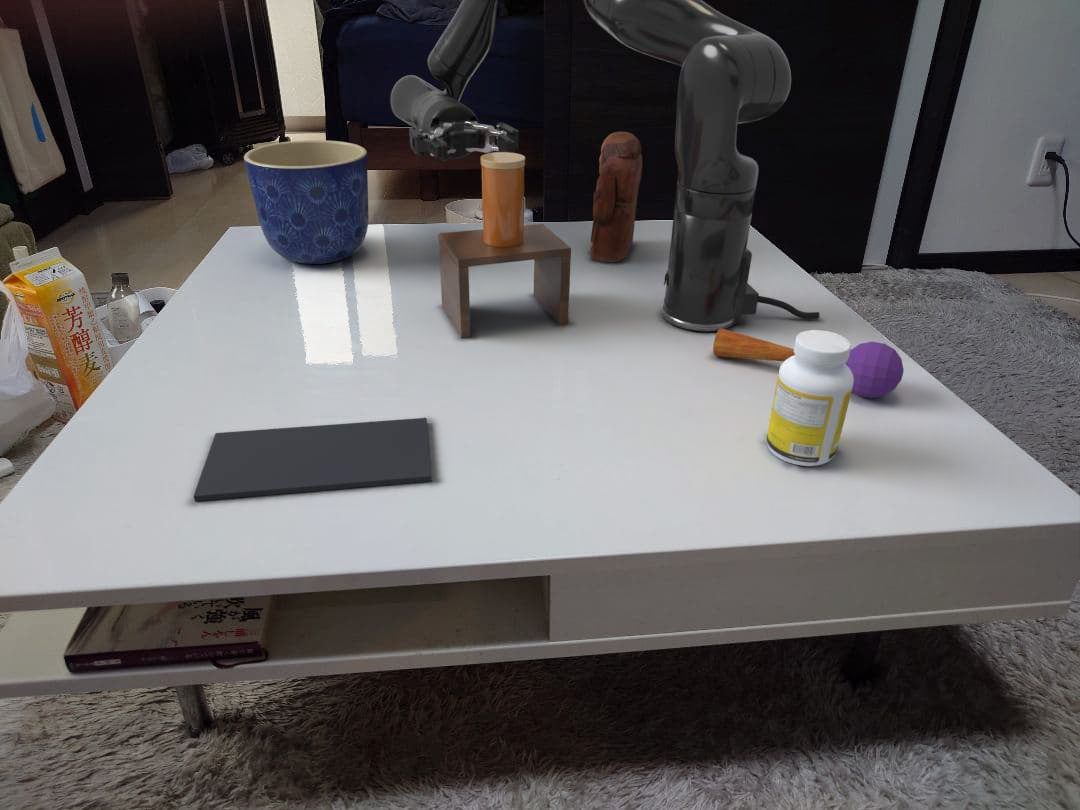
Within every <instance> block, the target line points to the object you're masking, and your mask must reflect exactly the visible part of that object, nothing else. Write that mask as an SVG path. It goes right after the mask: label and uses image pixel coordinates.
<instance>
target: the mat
mask: <svg viewBox="0 0 1080 810" xmlns="http://www.w3.org/2000/svg"><path fill="white" fill-rule="evenodd" d="M428 429H429V428H428V418H427V417H419V418H418V417H417V418H403V419H391V420H389V419H388V420H377V421H375V420H374V421H365V422H362V421H361V422H350V423H349V422H348V423H334V424H323V425H307V426H295V427H292V426H291V427H280V428H279V427H278V428H268V429H254V430H253V429H252V430H240V431H239V430H238V431H224V432H215V434H214V437H213V439H212V442H211V445H210V448H209V451H208V452H207V453H208V454H207V456H206V458H205V462H204V465H203V468H202V471H201V474H200V476H199V479H198V482H197V485H196V488H195V490H194V494H193V500H194V502H202V501H203V502H204V501H214V500H215V501H217V500H226V499H237V498H238V499H239V498H250V497H259V496H260V497H263V496H272V495H287V494H297V493H298V494H299V493H308V492H319V491H331V490H344V489H354V488H355V489H356V488H366V487H369V488H370V487H379V486H391V485H403V484H413V483H425V482H432V481H433V477H432V466H431V454H430V453H431V452H430V444H429V442H430V441H429V430H428Z"/></svg>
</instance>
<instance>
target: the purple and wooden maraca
mask: <svg viewBox="0 0 1080 810" xmlns="http://www.w3.org/2000/svg"><path fill="white" fill-rule="evenodd" d="M712 349H713V350H712V351H713V355H714V357H723V358H735V359H748V360H762V361H775V362H784V361H785V360H786V359H788V358H790V357H791V356H794V355H795V353H794V348H791V347H788V346H784V345H781V344H777V343H774V342H771V341H770V342H769V341H768V340H763V339H760V338H757V337H753V336H750V335H747V334H743V333H739V332H736V331H732V330H729V329H727V328H726V329H722V328H720V329H719V330H718V331H716V334H715V337H714V341H713V348H712ZM845 364H846V365H847V366H848V367H849V369H850V370H851V372H852V374H853V378H854V383H853V388H852V393H854V394H856V395H857V396H859V397H865V398H869V399H875V398H880V397H884V396H886V395H888V394H890V393H891V392H893V391H895V390H896V388H897V387H898V385H899V384H900V383H901V381H902V379H903V376H904V370H905V369H904V365H903V359H902V357H901V356H900V355H899V353H898V352H897V351H896V349H895V348H893V347H892V346H890V345H888V344H886V343H884V342H878V341H868V342H867V341H866V342H862V343H859V344H857V345H856V346H853V348H851V349H850V354H849V358H848V361H847V362H846V363H845Z"/></svg>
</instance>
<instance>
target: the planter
mask: <svg viewBox="0 0 1080 810" xmlns="http://www.w3.org/2000/svg"><path fill="white" fill-rule="evenodd" d="M243 160H244V165H245V168H246V172H247V177H248V180H249V185H250V189H251V193H252V197H253V200H254V205H255V209H256V213H257V217H258V221H259V226H260V228H261V231H262V233H263V236H264V238H265V240H266V241H267V243H268V245H269V246H270V247H271V249H272V250H274V252H276V253H277V254H278V255H279V256H281V257H282V258H284V259H286V260H288V261H290V262H294V263H298V264H304V265H324V264H331V263H334V262H335V263H336V262H338V261H342V260H345V259H347V258H348V257H351V256H352V255H353V254H355V253H357V251H358V250H359V249H360V248H361V246H362V245H363V243H364V241H365V239H366V237H367V232H368V228H369V217H370V216H369V183H368V182H369V181H368V180H369V179H368V176H369V175H368V152H367V150H366V148H365V147H363V146H361V145H359V144H356V143H351V142H348V141H347V142H346V141H339V140H338V141H337V140H322V139H321V140H320V139H319V140H318V139H315V140H314V139H311V140H310V139H308V140H293V141H281V142H275V143H269V144H266V145H261V146H258V147H255V148H253V149H250V150H248V151H247V152H246V153H245V154H244V155H243Z"/></svg>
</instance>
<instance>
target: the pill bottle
mask: <svg viewBox="0 0 1080 810" xmlns="http://www.w3.org/2000/svg"><path fill="white" fill-rule="evenodd" d="M793 349H794V353H795V355H794V356H791V357H790V358H788V359H786V360H785V361H782V363H781V365H780V367H779V369H778V370H779V371H778V375H777V380H776V385H775V391H774V395H773V401H772V406H771V411H770V417H769V421H768V428H767V431H766V439H765V440H766V445H767V447H768V449H769V451H770V452H771V453H772V454H773V455H774V456H775V457H777V458H778V459H780V460H782V461H784V462H786V463H789V464H793V465H797V466H803V467H816V466H821V465H824V464H827V463H828V462H830V461H831V460H833V459H834V457H835V456H836V454H837V451H838V448H839V443H840V439H841V435H842V431H843V428H844V423H845V420H846V416H847V412H848V409H849V403H850V399H851V396H852V393H853V391H852V388H853V383H854V378H853V374H852V372H851V370H850V369H849V367H848V366H847V365H846V364H845V363H846V362H847V361H848V358H849V354H850V350H851V349H852V345H851V342H850V340H849V339H848V338H846V337H844V336H843V335H841V334H838V333H836V332H833V331H828V330H821V329H809V330H804V331H801V332H799V333H798V334H797V335H796V337H795V341H794V346H793Z"/></svg>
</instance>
